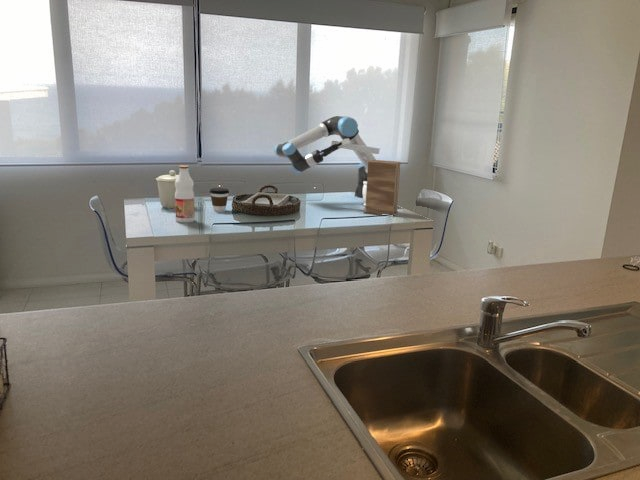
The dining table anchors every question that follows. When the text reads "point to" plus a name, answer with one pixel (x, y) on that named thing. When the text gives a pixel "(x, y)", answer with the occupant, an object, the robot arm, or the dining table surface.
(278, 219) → the dining table surface
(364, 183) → the jar
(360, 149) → the steel bar
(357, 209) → the dining table surface
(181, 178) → the fruit juice
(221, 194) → the coffee cup
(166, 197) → the canister
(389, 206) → the walnut tower
